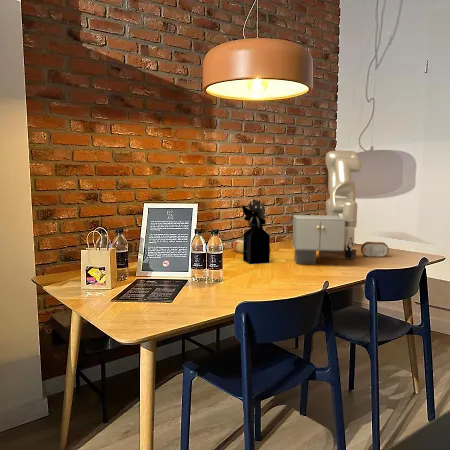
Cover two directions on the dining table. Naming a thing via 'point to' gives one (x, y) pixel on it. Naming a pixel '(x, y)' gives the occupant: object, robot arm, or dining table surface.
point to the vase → (256, 235)
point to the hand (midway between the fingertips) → (347, 257)
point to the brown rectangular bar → (336, 254)
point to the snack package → (238, 246)
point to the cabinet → (316, 236)
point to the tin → (374, 249)
